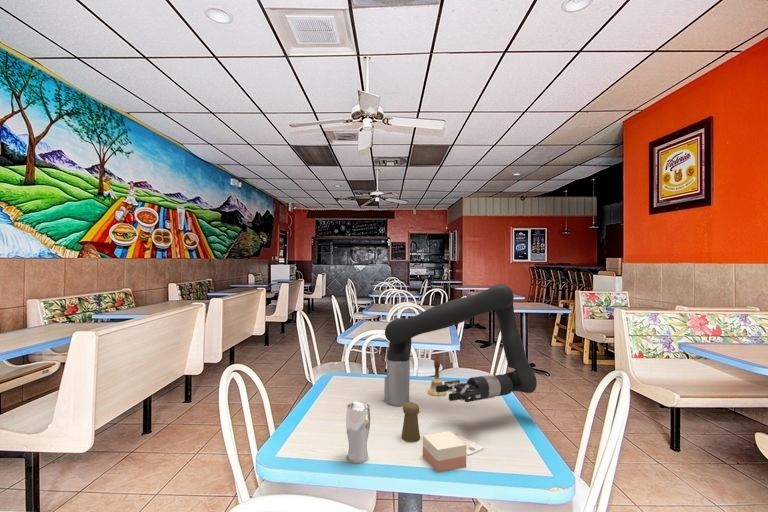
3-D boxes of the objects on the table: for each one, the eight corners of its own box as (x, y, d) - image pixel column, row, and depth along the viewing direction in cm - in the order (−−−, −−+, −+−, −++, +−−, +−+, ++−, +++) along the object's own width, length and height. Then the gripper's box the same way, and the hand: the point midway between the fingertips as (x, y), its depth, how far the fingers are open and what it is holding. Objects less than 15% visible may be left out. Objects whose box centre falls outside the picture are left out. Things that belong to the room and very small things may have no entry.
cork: (419, 443, 121) (419, 407, 121) (399, 441, 122) (400, 406, 122) (421, 434, 127) (421, 401, 127) (402, 432, 128) (403, 399, 128)
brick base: (422, 456, 113) (422, 435, 113) (449, 451, 116) (449, 431, 116) (437, 472, 105) (437, 450, 105) (466, 466, 108) (466, 444, 108)
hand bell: (423, 391, 169) (423, 354, 169) (438, 388, 172) (439, 352, 173) (434, 397, 161) (435, 359, 161) (450, 394, 165) (451, 357, 165)
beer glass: (373, 454, 114) (373, 403, 114) (364, 466, 107) (365, 412, 107) (351, 450, 116) (352, 400, 116) (341, 461, 109) (342, 408, 109)
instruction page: (444, 442, 122) (444, 441, 122) (459, 436, 126) (459, 435, 126) (468, 455, 114) (468, 454, 114) (483, 449, 118) (483, 447, 118)
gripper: (472, 371, 141) (432, 375, 135) (496, 382, 128) (453, 388, 122) (472, 391, 141) (432, 397, 135) (496, 405, 128) (453, 412, 122)
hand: (442, 393), depth 128 cm, fingers open, 8 cm apart
